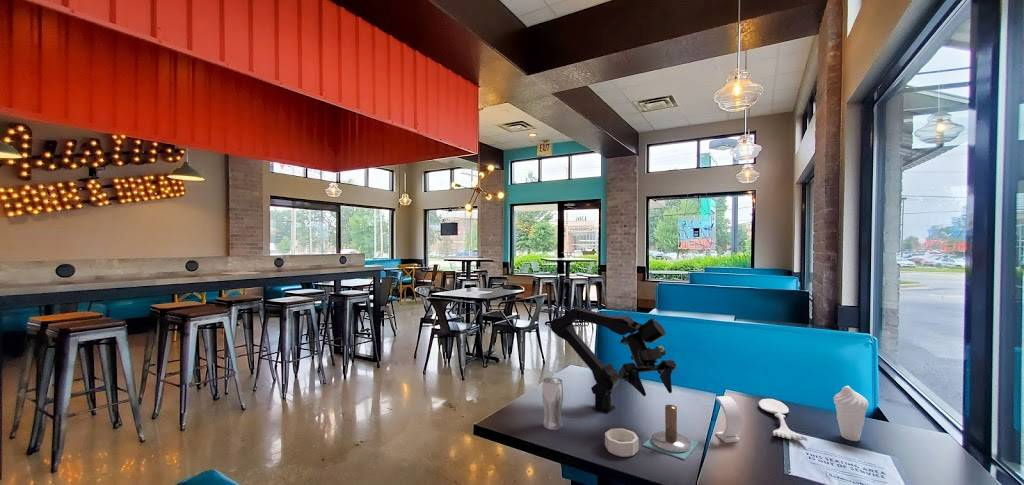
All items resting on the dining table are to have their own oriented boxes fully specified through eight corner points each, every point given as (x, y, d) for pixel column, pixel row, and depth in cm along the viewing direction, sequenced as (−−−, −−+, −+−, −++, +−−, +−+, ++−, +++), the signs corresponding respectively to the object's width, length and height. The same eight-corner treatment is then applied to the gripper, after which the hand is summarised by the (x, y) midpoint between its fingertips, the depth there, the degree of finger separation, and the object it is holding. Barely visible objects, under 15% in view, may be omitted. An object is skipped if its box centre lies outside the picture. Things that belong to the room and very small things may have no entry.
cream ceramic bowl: (614, 438, 126) (614, 425, 125) (642, 448, 120) (642, 434, 120) (600, 450, 119) (600, 436, 119) (628, 460, 113) (628, 446, 113)
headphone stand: (729, 433, 128) (729, 395, 128) (742, 443, 122) (742, 403, 122) (715, 434, 128) (715, 396, 128) (727, 444, 122) (727, 404, 122)
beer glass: (562, 431, 130) (562, 385, 130) (540, 429, 132) (540, 383, 132) (564, 421, 137) (563, 377, 137) (543, 420, 139) (543, 376, 138)
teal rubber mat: (659, 431, 130) (659, 430, 130) (698, 443, 122) (698, 442, 122) (643, 445, 121) (643, 444, 121) (684, 460, 113) (684, 458, 113)
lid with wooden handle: (660, 431, 129) (659, 396, 129) (696, 442, 122) (696, 405, 122) (645, 444, 121) (645, 407, 121) (683, 457, 114) (683, 418, 114)
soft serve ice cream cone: (860, 433, 128) (860, 382, 128) (874, 446, 120) (874, 392, 120) (828, 429, 130) (828, 380, 130) (839, 442, 123) (840, 389, 122)
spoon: (772, 443, 123) (772, 432, 123) (756, 403, 152) (756, 394, 152) (809, 449, 119) (809, 437, 119) (785, 407, 148) (785, 398, 148)
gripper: (622, 339, 131) (641, 385, 120) (673, 335, 135) (695, 379, 125) (610, 356, 139) (627, 401, 128) (659, 352, 143) (679, 395, 132)
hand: (658, 394), depth 128 cm, fingers open, 9 cm apart
